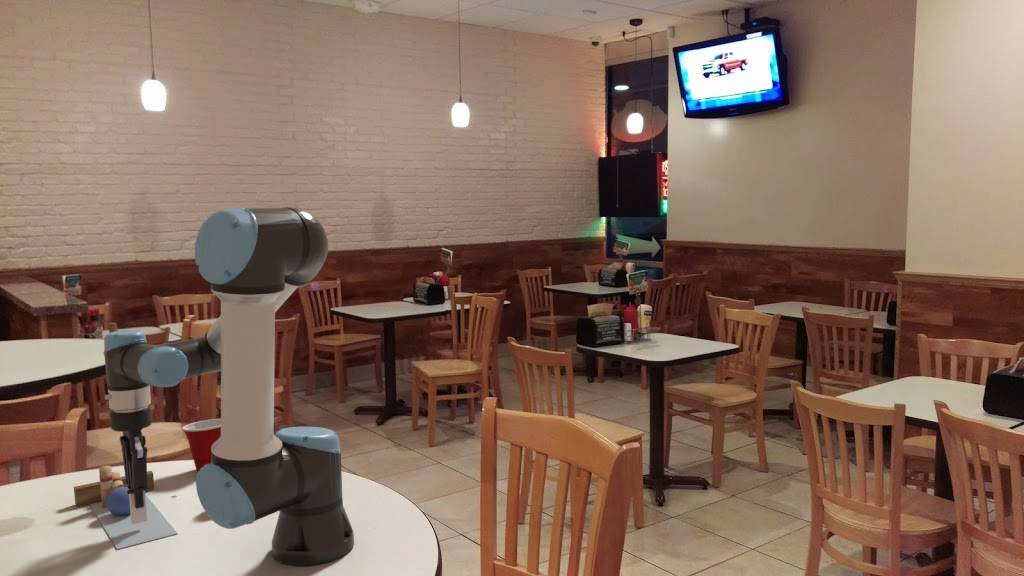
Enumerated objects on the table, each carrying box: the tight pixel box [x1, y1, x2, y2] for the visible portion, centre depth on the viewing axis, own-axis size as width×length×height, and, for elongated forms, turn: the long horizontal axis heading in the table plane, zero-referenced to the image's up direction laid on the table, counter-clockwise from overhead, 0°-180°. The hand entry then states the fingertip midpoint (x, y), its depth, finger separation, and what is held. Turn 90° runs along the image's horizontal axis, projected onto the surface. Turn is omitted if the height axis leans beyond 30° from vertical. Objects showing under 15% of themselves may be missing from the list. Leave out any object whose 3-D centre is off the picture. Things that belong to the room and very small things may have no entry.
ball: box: [106, 487, 130, 516], centre depth 167 cm, size 6×6×6 cm
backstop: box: [73, 470, 155, 507], centre depth 178 cm, size 2×16×4 cm, turn 127°
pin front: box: [112, 471, 124, 490], centre depth 173 cm, size 2×2×9 cm
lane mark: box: [89, 494, 178, 551], centre depth 165 cm, size 29×11×1 cm, turn 37°
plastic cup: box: [181, 418, 221, 473], centre depth 194 cm, size 11×11×12 cm
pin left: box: [98, 465, 113, 508], centre depth 171 cm, size 2×2×9 cm
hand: (139, 521), depth 159 cm, fingers closed
